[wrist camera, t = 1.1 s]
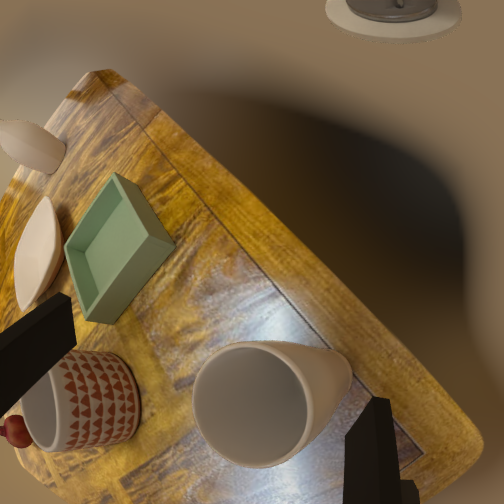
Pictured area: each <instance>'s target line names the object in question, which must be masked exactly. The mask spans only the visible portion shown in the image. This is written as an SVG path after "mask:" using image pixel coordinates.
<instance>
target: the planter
mask: <svg viewBox="0 0 504 504" xmlns="http://www.w3.org/2000/svg"><path fill="white" fill-rule="evenodd" d="M20 406H21V411H22V415H23V418H24V421H25V424H26V427H27V429H28V431H29V433H30V435H31V437H32V439H33V440H34V442H35V443H36V444H37V446H38V447H39V448H40V449H42V450H43V451H45V452H60V451H69V450H77V449H84V448H91V447H98V446H104V445H110V444H115V443H121V442H124V441H127V440H128V439H130V438H131V437H132V436H133V434H134V433H135V431H136V429H137V426H138V423H139V418H140V400H139V394H138V390H137V386H136V383H135V380H134V378H133V376H132V374H131V372H130V370H129V369H128V367H127V366H126V364H125V363H124V362H123V361H122V360H121V359H120V358H119V357H117V356H116V355H114V354H112V353H108V352H96V351H84V350H73V349H71V350H70V351H69V352H68V353H67V354H66V355H65V356H64V357H63V358H62V359H61V360H60V361H59V362H58V363H56V364H55V365H54V366H53V367H52V368H51V369H50V370H49V371H48V372H47V373H46V374H45V375H44V376H43V377H42V378H41V379H40V380H39V381H38V382H37V383H36V384H35V385H34V386H32V387H31V388H30V389H29V390H28V391H27V392H26V393H25V394H24V395H23V396H22V397H21V398H20Z"/></svg>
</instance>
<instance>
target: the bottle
mask: <svg viewBox="0 0 504 504" xmlns="http://www.w3.org/2000/svg"><path fill="white" fill-rule="evenodd" d="M0 145H1V147H2V149H3V150H4V151H5V152H6V153H7V154H8V156H9V157H11V158H12V159H13V160H15V161H16V162H17V163H20V164H22V165H24V166H26V167H29V168H31V169H34V170H37V171H40V172H44V173H47V174H52V173H54V172H55V171H56V170H57V168H58V167H59V165H60V164H61V162H62V160H63V158H64V155H65V151H66V147H65V145H64V144H63V143H62V142H61V141H60V140H58V139H57V138H56V137H55V136H54V135H52V134H51V133H49V132H48V131H46V130H45V129H43V128H42V127H40V126H39V125H37V124H34V123H31V122H28V121H22V120H11V121H3V120H1V119H0Z"/></svg>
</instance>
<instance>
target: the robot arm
mask: <svg viewBox="0 0 504 504" xmlns="http://www.w3.org/2000/svg"><path fill="white" fill-rule="evenodd" d="M346 3H347V5H348V8H349V9H350V11H351V12H353V13H354V14H355V15H357V16H359V17H361V18H364V19H367V20H371V21H376V22H383V23H407V22H414V21H418V20H422V19H425V18H427V17H429V16H431V15H432V14H434V13H435V12H436V10H437V8H438V1H437V0H346ZM76 345H77V341H76V335H75V328H74V321H73V313H72V304H71V297H69V296H67V295H65V294H63V293H61V292H58V293H57V294H55V295H54V296H52V297H51V298H49V299H48V300H47V301H45V302H44V303H42V304H41V305H39V306H38V307H36V308H35V309H34V310H32V311H31V312H29V313H28V314H26V315H25V316H24V317H22V318H21V319H19V320H18V321H17V322H15V323H14V324H13V325H11V326H10V327H8V328H7V329H6V330H4V331H3V332H2V333H0V418H1V417H2V416H3V415H4V414H5V413H6V412H7V411H8V410H9V409H10V408H11V407H12V406H13V405H14V404H15V403H16V402H17V401H18V400H19V399H20V398H21V397H22V396H23V395H24V394H25V393H26V392H27V391H28V390H29V389H30V388H31V387H32V386H34V385H35V384H36V383H37V382H38V381H39V380H40V379H41V378H42V377H43V376H44V375H45V374H46V373H47V372H48V371H49V370H50V369H51V368H52V367H53V366H54V365H55V364H56V363H58V362H59V361H60V360H61V359H62V358H63V357H64V356H65V355H66V354H67V353H68V352H69V351H70V350H71V349H73V348H74V347H75V346H76ZM343 504H420V498H419V491H418V489H417V487H416V485H415V483H414V481H413V480H400V471H399V462H398V453H397V445H396V437H395V430H394V423H393V417H392V410H391V404H390V399H386V398H380V397H374V396H372V398H371V400H370V401H369V403H368V404H367V406H366V407H365V409H364V410H363V411H362V413H361V414H360V416H359V417H358V419H357V420H356V421H355V423H354V424H353V426H352V427H351V428H350V430H349V431H348V433H347V434H346V435H345V461H344V487H343Z"/></svg>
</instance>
